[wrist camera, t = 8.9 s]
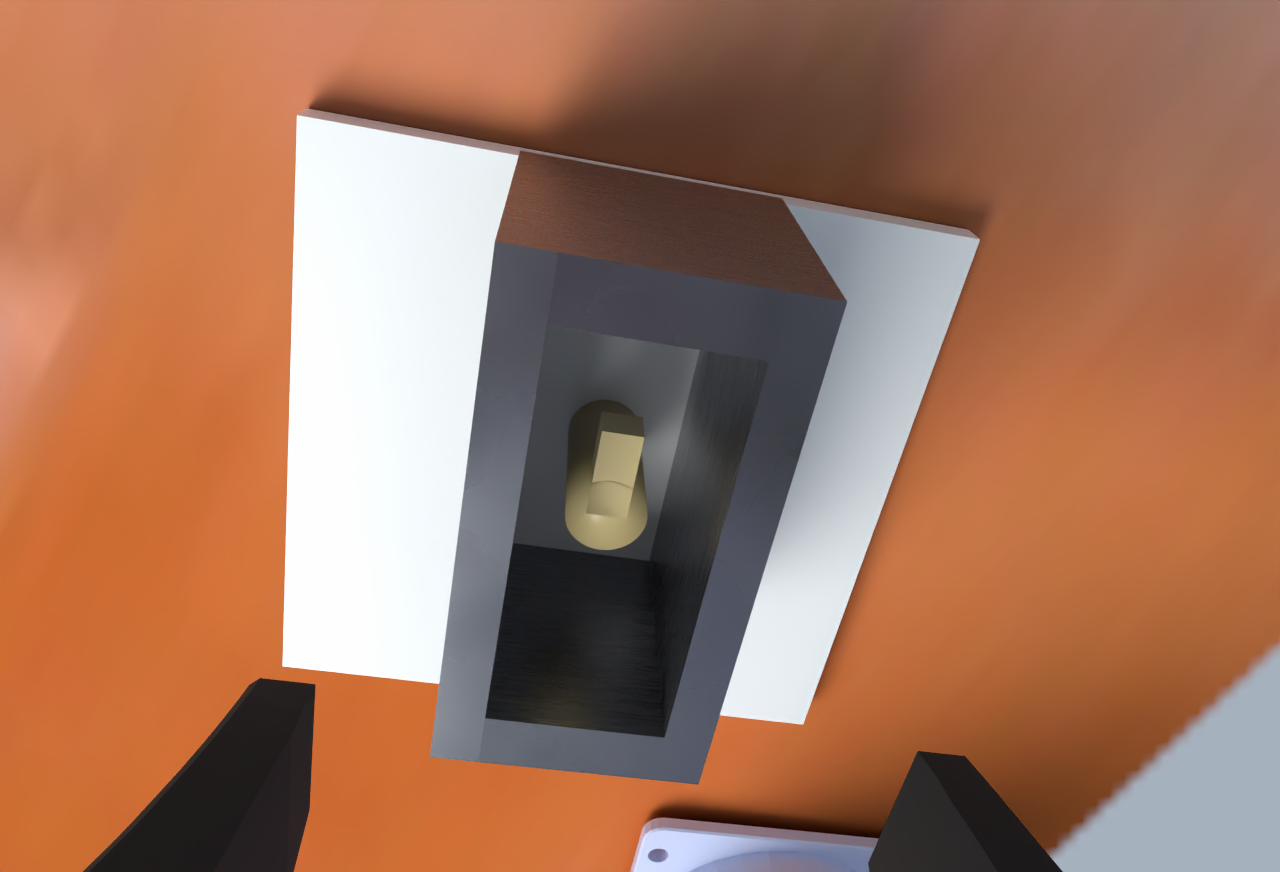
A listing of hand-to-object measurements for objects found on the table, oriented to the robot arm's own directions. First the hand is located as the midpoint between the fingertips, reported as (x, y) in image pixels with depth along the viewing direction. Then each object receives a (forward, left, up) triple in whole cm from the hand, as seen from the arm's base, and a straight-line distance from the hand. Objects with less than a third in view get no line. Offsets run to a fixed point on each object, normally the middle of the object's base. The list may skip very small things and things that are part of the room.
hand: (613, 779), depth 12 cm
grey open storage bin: (+1, 0, -9) cm, 9 cm away
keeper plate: (-1, 0, -9) cm, 9 cm away
